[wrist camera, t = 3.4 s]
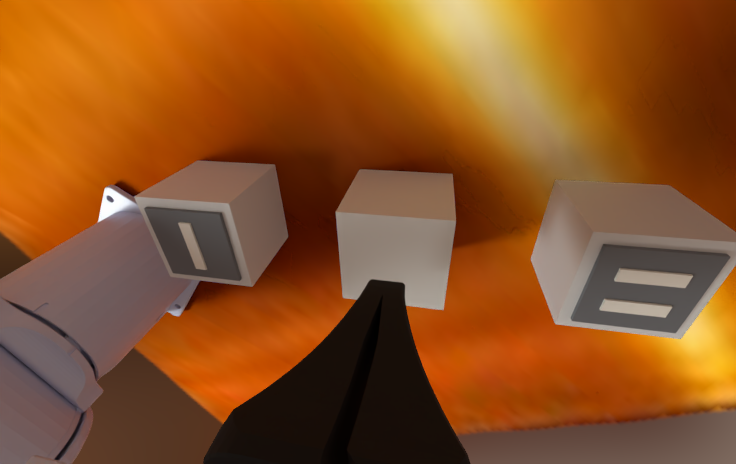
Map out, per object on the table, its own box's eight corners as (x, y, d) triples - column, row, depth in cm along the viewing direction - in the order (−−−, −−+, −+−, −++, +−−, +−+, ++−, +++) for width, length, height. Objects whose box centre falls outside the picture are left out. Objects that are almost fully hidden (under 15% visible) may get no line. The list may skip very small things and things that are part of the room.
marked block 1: (220, 229, 22) (166, 280, 18) (198, 160, 20) (128, 199, 15) (288, 236, 21) (249, 290, 17) (275, 163, 19) (225, 206, 14)
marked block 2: (530, 258, 19) (557, 328, 15) (554, 178, 16) (596, 236, 12) (625, 267, 18) (684, 344, 14) (668, 184, 15) (758, 248, 11)
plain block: (362, 242, 21) (342, 297, 16) (360, 168, 18) (335, 211, 14) (442, 250, 20) (443, 310, 16) (452, 173, 17) (456, 220, 13)
